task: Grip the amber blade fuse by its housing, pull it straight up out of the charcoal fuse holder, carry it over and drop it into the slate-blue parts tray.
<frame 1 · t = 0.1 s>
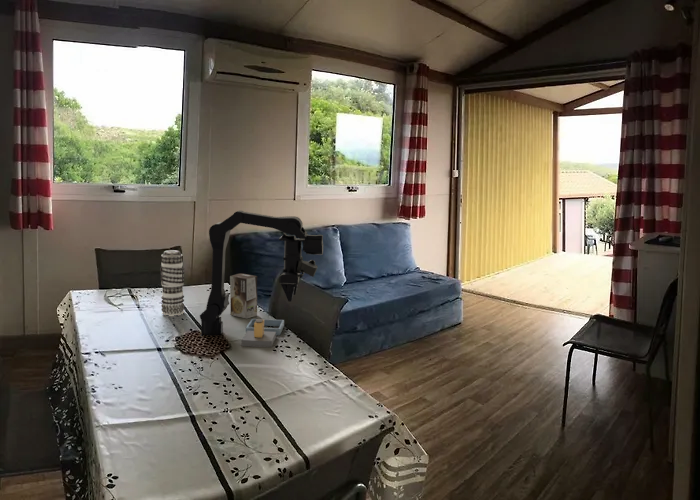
hand: (291, 298, 187), 15 cm above the table, tool pointing down, fingers open, 9 cm apart
fuse holder: (259, 343, 182), on the table
fuse: (259, 341, 182), point 1 cm above the table, touching fuse holder
decorative candle: (172, 313, 214), on the table
parts tray: (265, 331, 195), on the table
coffee box: (243, 315, 215), on the table
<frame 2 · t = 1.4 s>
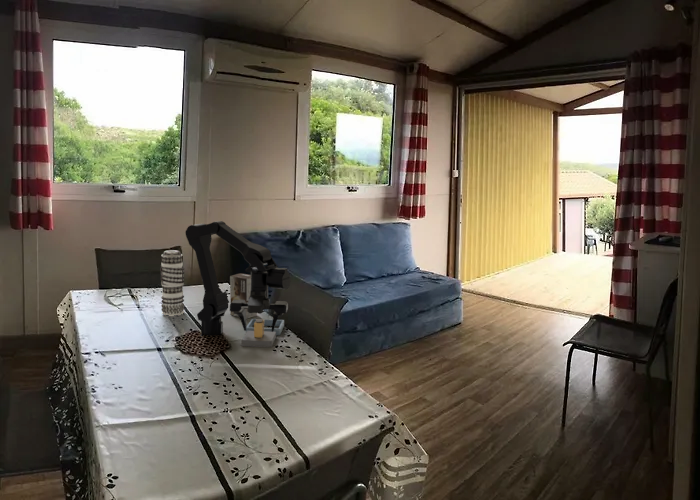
hand: (259, 331, 182), 4 cm above the table, tool pointing down, fingers open, 9 cm apart
nothing on the table moved.
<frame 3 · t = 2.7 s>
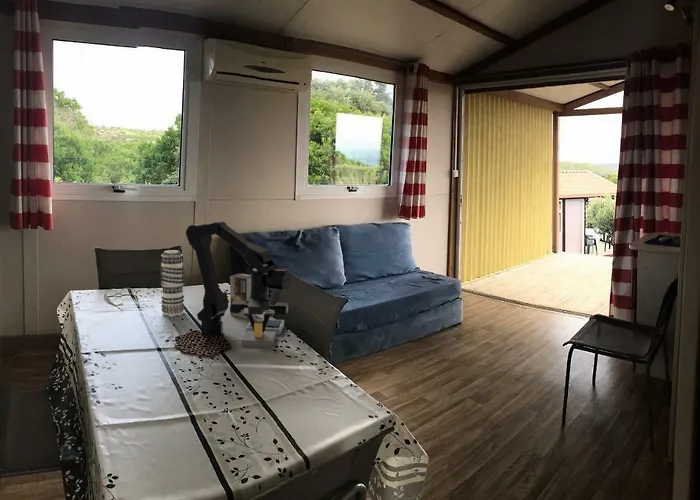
hand: (259, 332, 182), 4 cm above the table, tool pointing down, fingers closed on fuse, 3 cm apart
fuse: (259, 341, 182), point 1 cm above the table, touching fuse holder, gripper
everything else where it was.
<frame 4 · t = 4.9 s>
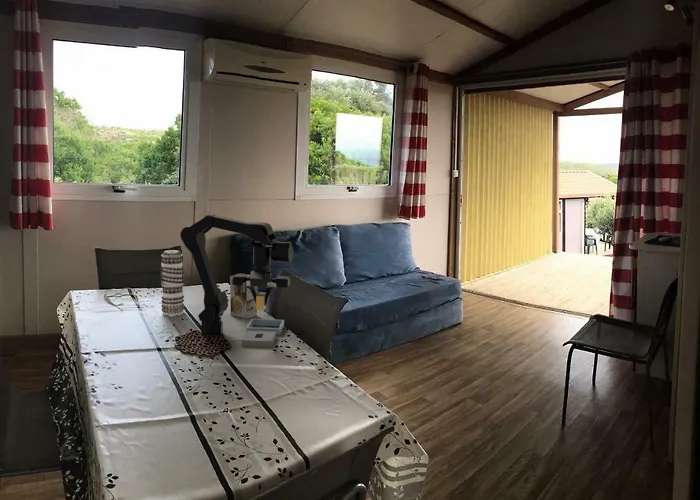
hand: (261, 305, 184), 12 cm above the table, tool pointing down, fingers closed on fuse, 3 cm apart
fuse: (261, 314, 184), point 9 cm above the table, touching gripper
everything else where it was.
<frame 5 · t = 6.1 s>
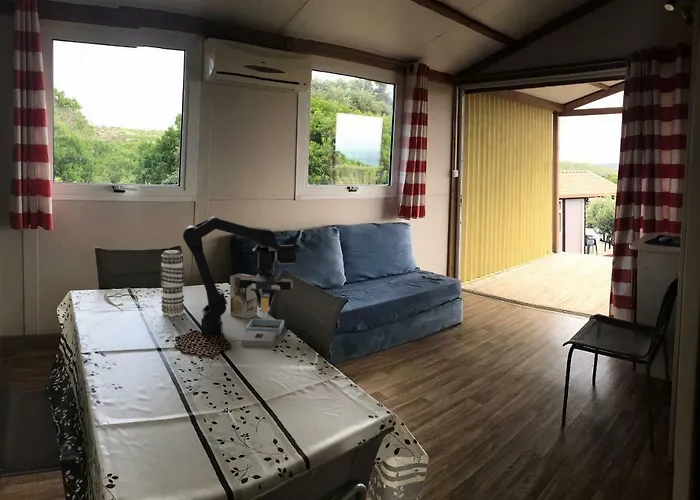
hand: (265, 306, 194), 9 cm above the table, tool pointing down, fingers closed on fuse, 3 cm apart
fuse: (265, 315, 194), point 6 cm above the table, touching gripper
everything else where it was.
when the fingers open (5 cm above the table, at t = 7.0 s): fuse drops 1 cm, resting on parts tray.
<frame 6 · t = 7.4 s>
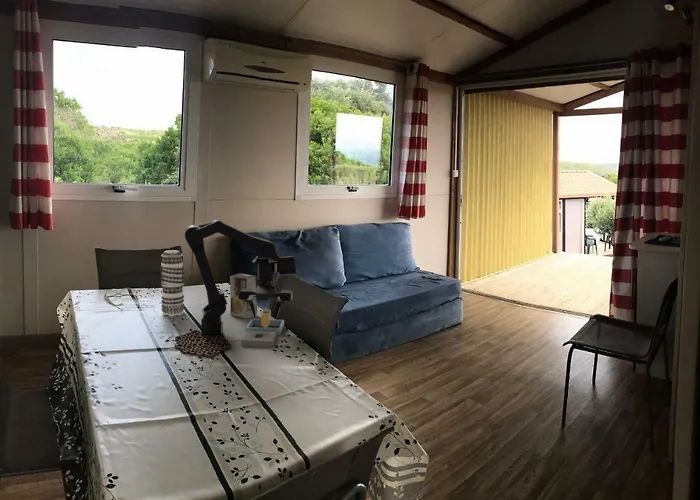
hand: (265, 317, 194), 5 cm above the table, tool pointing down, fingers open, 7 cm apart
fuse: (265, 330, 195), point 1 cm above the table, touching parts tray
everything else where it was.
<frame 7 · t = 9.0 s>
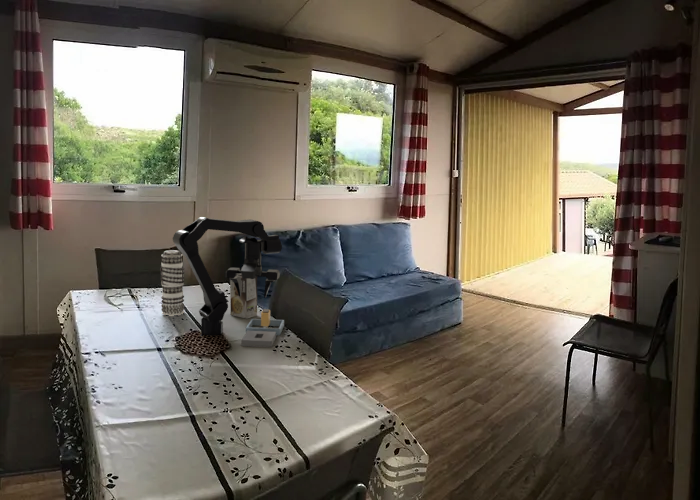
hand: (252, 296, 197), 12 cm above the table, tool pointing down, fingers open, 9 cm apart
nothing on the table moved.
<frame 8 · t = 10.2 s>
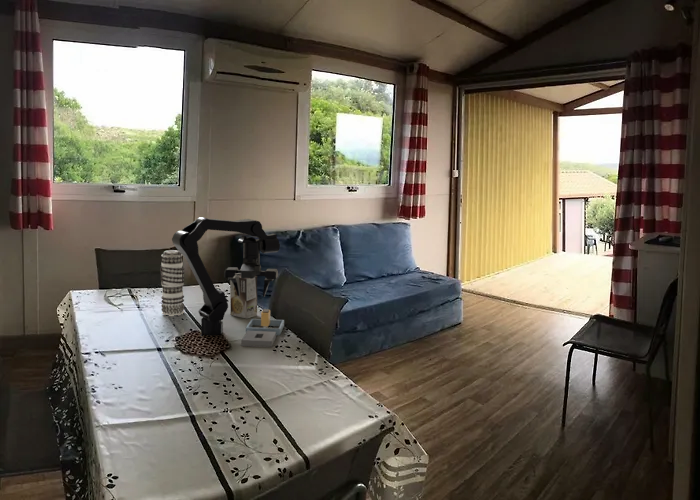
hand: (251, 296, 197), 12 cm above the table, tool pointing down, fingers open, 9 cm apart
nothing on the table moved.
at the end: fuse inside the target area on the parts tray (0.0 cm from its centre), point 0.6 cm above the parts tray's base; the gripper is holding nothing; fuse moved 13.0 cm from its start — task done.
